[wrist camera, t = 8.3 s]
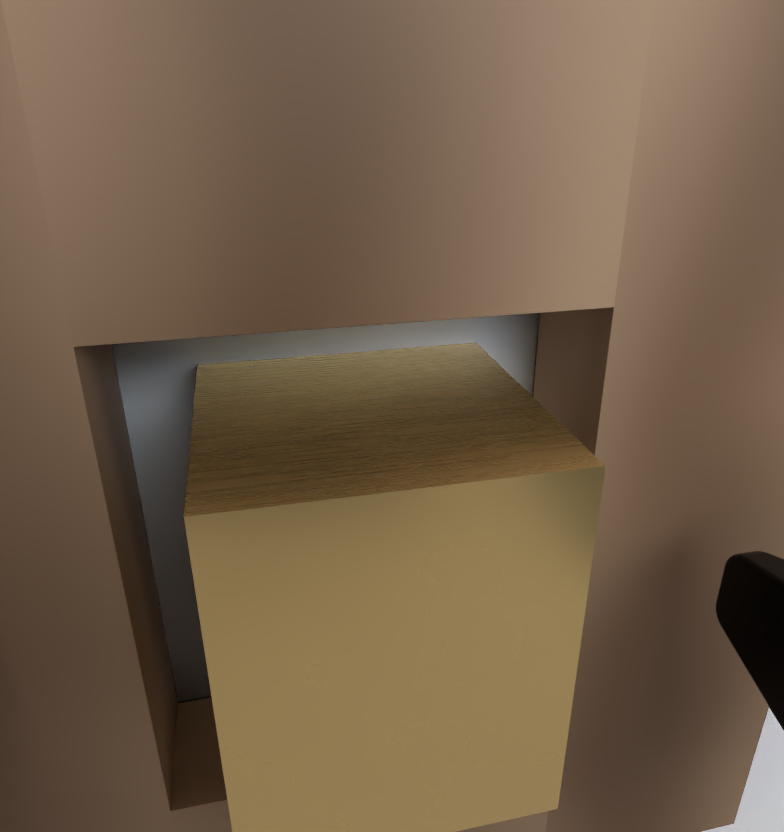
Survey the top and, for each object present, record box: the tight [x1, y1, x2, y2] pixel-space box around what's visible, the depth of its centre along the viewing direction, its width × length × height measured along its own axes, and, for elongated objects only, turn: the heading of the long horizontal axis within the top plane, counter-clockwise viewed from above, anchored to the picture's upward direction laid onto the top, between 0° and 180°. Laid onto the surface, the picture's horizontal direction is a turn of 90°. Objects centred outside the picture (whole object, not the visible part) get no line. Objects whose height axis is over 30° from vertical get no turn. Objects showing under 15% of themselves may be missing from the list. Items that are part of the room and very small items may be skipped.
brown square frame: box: [0, 0, 784, 832], centre depth 10 cm, size 14×14×2 cm
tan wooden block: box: [184, 343, 605, 832], centre depth 9 cm, size 4×5×4 cm
